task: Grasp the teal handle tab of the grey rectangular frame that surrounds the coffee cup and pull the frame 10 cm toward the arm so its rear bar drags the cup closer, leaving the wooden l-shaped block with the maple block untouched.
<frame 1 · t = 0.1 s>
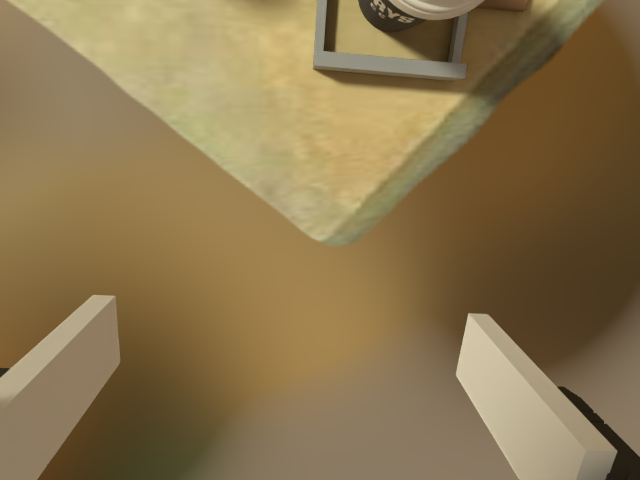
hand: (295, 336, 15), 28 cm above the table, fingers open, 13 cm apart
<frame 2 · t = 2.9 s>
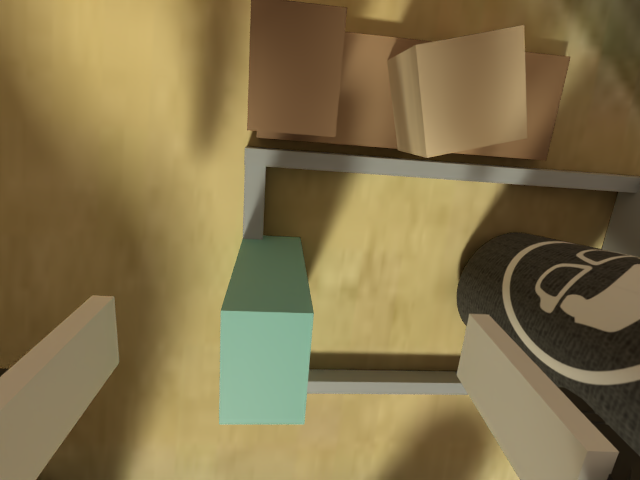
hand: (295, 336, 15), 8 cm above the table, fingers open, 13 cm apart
maple block: (434, 98, 20), point 1 cm above the table, touching wooden l-shaped block
grey rectangular frame: (470, 317, 19), point 5 cm above the table, slide at 0.0 cm
coffee cup: (503, 285, 24), on the table
wooden l-shaped block: (434, 93, 17), point 3 cm above the table, slide at 0.0 cm, touching maple block
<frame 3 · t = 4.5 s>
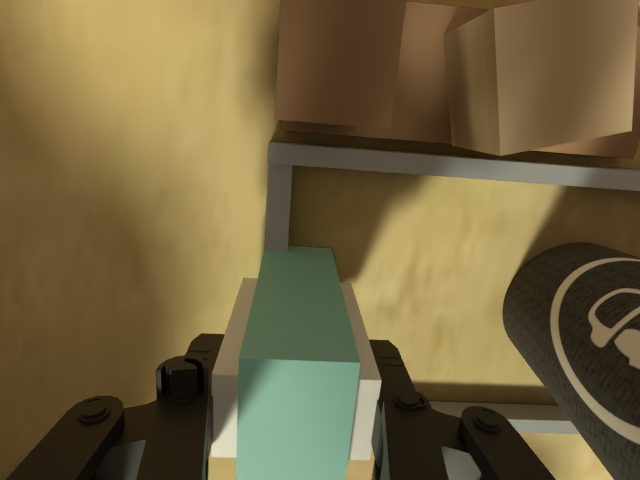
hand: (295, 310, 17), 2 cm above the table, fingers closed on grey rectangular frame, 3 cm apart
maple block: (499, 82, 16), point 1 cm above the table, touching wooden l-shaped block
grey rectangular frame: (541, 351, 16), point 4 cm above the table, slide at 0.0 cm, touching gripper
coffee cup: (563, 302, 20), on the table
wooden l-shaped block: (507, 74, 14), point 3 cm above the table, slide at 0.0 cm, touching maple block
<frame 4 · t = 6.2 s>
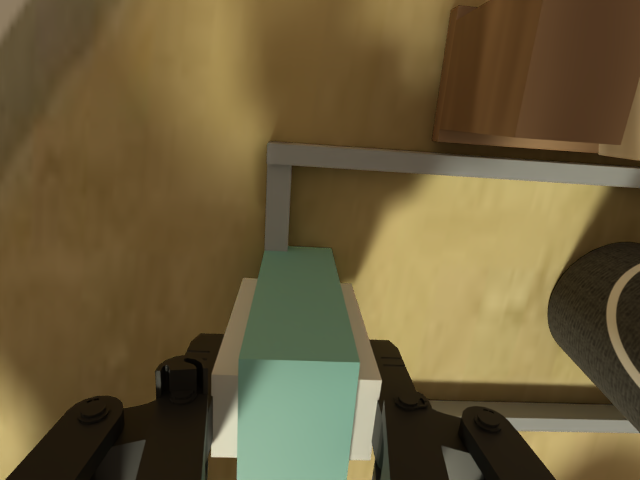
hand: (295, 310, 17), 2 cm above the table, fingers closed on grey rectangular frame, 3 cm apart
grey rectangular frame: (542, 349, 16), point 5 cm above the table, slide at 6.4 cm, touching coffee cup, gripper
coffee cup: (607, 301, 21), on the table, touching grey rectangular frame
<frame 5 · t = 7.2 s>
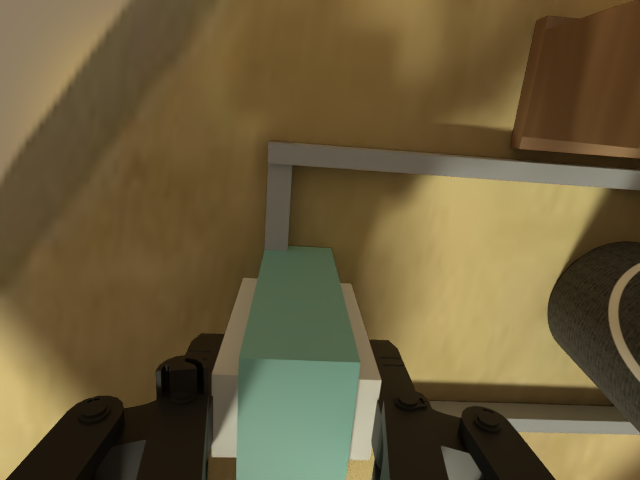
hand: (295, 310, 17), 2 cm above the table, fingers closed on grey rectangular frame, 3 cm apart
grey rectangular frame: (541, 351, 16), point 4 cm above the table, slide at 9.9 cm, touching coffee cup, gripper
coffee cup: (607, 301, 21), on the table, touching grey rectangular frame
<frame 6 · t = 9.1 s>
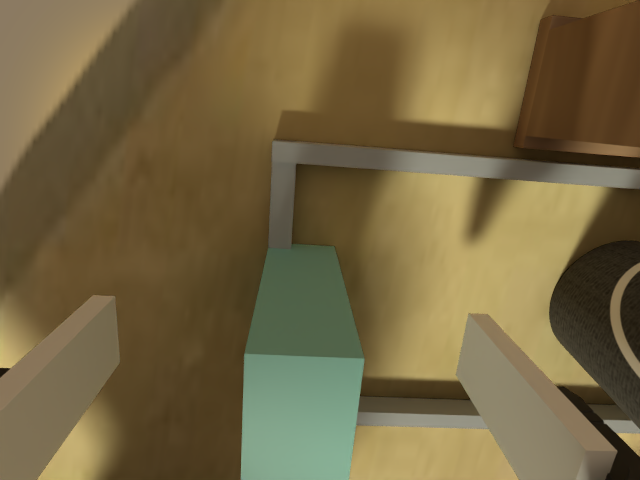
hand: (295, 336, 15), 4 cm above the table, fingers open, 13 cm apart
grey rectangular frame: (544, 349, 16), point 4 cm above the table, slide at 9.9 cm
coffee cup: (609, 299, 21), on the table
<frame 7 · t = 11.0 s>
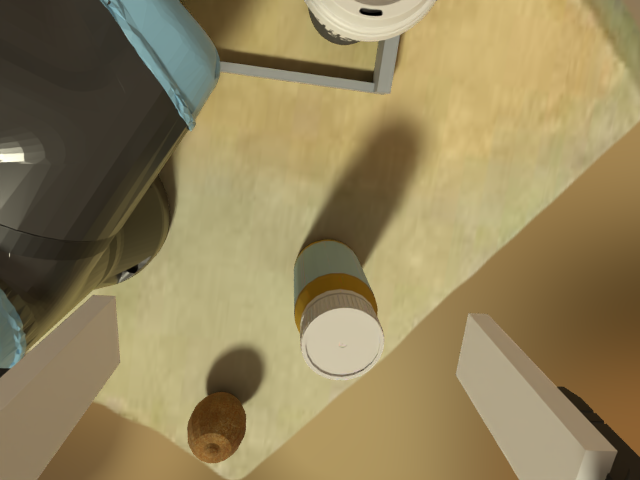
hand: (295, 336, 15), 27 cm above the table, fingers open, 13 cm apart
bottle: (326, 267, 44), on the table
fruit: (223, 399, 48), on the table
coffee cup: (344, 5, 36), on the table
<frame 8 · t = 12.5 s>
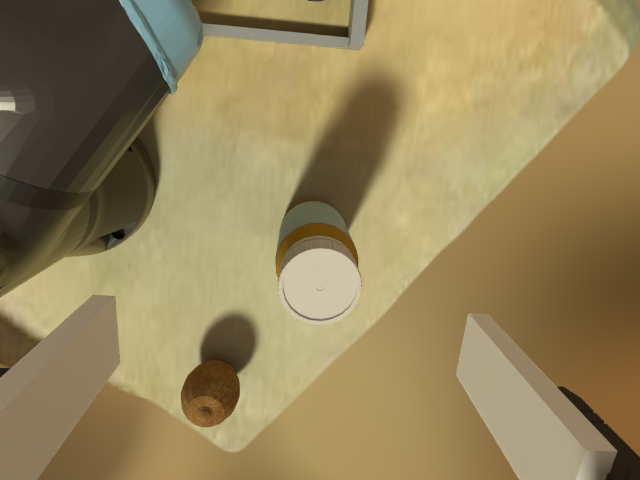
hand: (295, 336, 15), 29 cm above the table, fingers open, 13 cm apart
bottle: (312, 230, 44), on the table
fruit: (218, 369, 49), on the table
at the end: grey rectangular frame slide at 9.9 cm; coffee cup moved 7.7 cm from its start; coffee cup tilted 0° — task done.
